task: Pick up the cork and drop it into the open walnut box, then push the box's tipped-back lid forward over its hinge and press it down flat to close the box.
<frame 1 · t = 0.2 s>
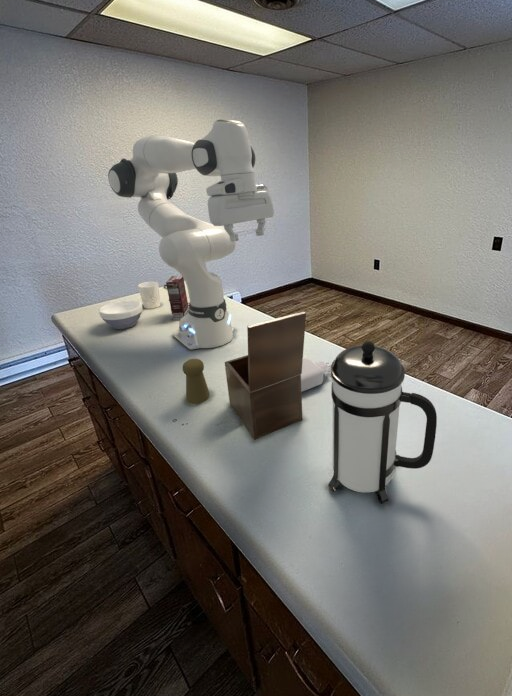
hand: (247, 238, 100), 39 cm above the table, tool pointing down, fingers open, 8 cm apart
charger: (309, 379, 104), on the table
box: (265, 412, 90), on the table
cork: (198, 397, 96), on the table
supplement box: (181, 316, 148), on the table
coffee press: (369, 476, 72), on the table
white cup: (152, 306, 158), on the table
bowl: (125, 325, 140), on the table
lid: (277, 352, 75), point 21 cm above the table, hinge at 100.0°
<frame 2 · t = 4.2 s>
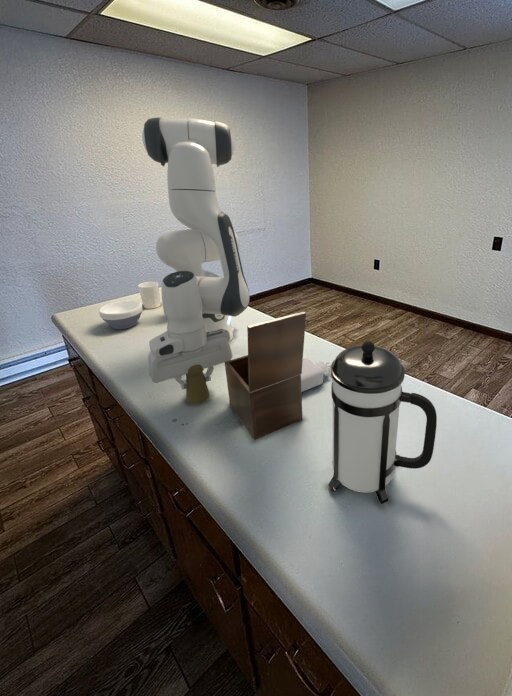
hand: (196, 384, 95), 4 cm above the table, tool pointing down, fingers closed on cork, 4 cm apart
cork: (198, 397, 96), on the table, touching gripper
everything else where it was.
when the fingers open (11 cm above the table, at t = 11.6 s): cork drops 5 cm, resting on box.
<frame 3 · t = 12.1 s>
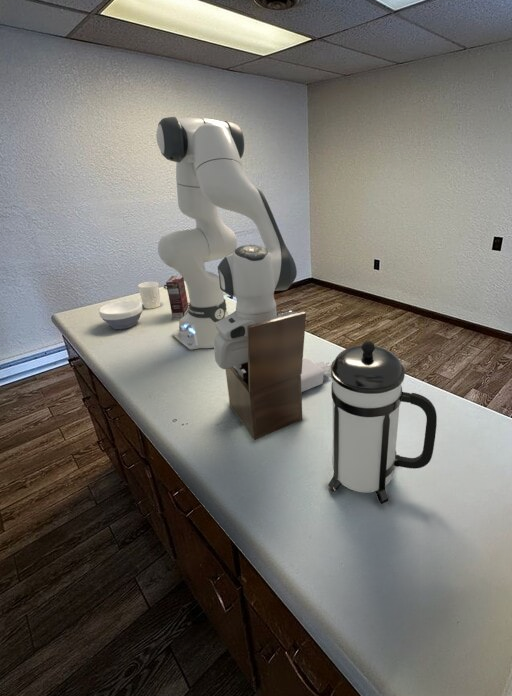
hand: (261, 371, 86), 12 cm above the table, tool pointing down, fingers open, 8 cm apart
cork: (264, 405, 90), point 2 cm above the table, touching box
everything else where it was.
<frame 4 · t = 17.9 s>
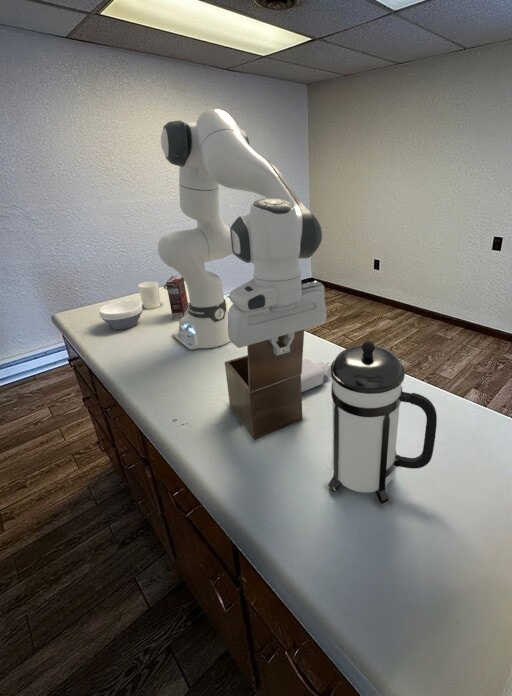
hand: (281, 353, 73), 22 cm above the table, tool pointing down, fingers closed, pressing on lid
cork: (264, 409, 90), point 1 cm above the table, touching box
lid: (276, 351, 75), point 21 cm above the table, hinge at 98.8°, touching gripper
everything else where it was.
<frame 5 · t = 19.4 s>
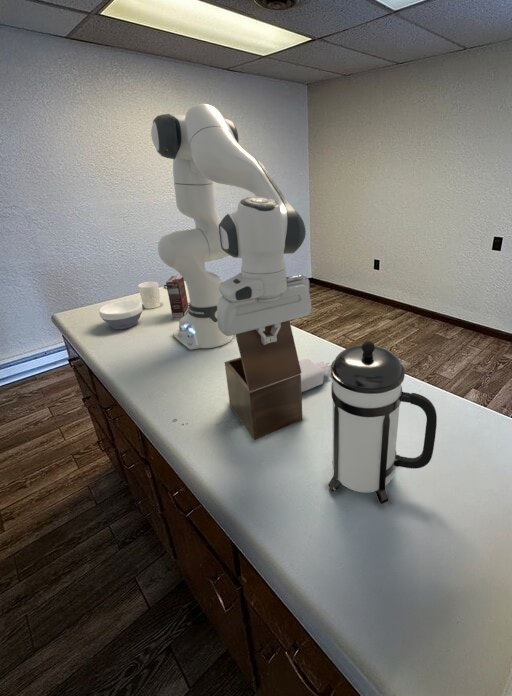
hand: (269, 342, 78), 22 cm above the table, tool pointing down, fingers closed, pressing on lid
lid: (267, 345, 79), point 21 cm above the table, hinge at 67.7°, touching gripper
everything else where it was.
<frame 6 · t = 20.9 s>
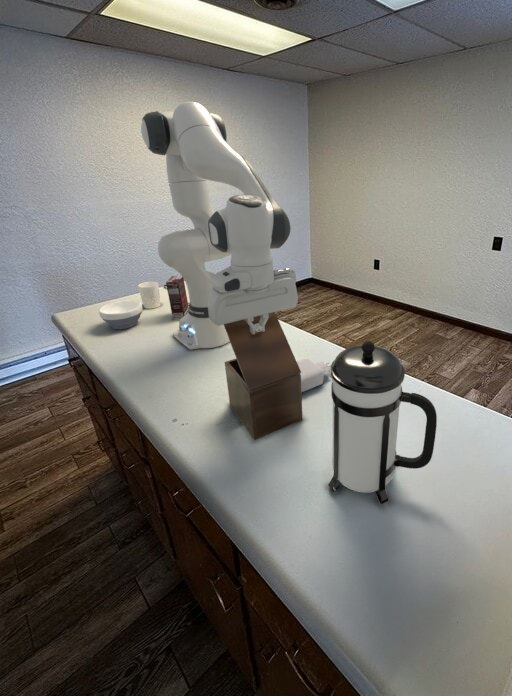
hand: (257, 332, 83), 22 cm above the table, tool pointing down, fingers closed, pressing on lid
lid: (262, 348, 82), point 19 cm above the table, hinge at 41.9°, touching gripper
everything else where it was.
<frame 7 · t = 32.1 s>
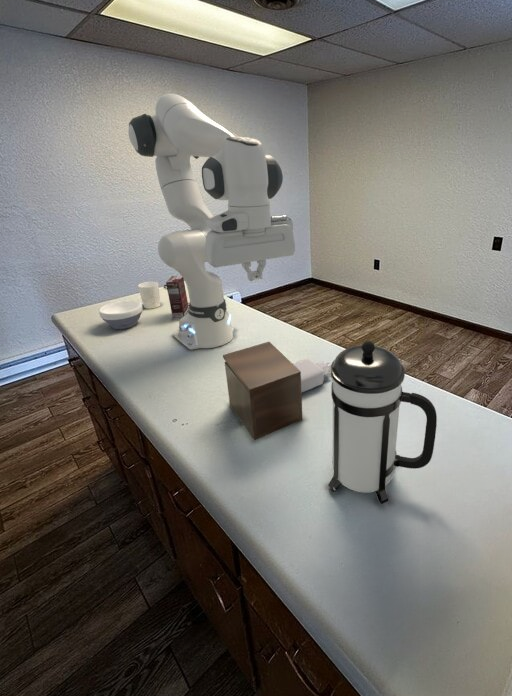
hand: (255, 279, 83), 33 cm above the table, tool pointing down, fingers closed
lid: (260, 364, 86), point 14 cm above the table, hinge at 2.6°
everything else where it was.
at the end: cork inside the target area in the box (0.0 cm from its centre), point 0.6 cm above the box's base; lid at +3° (first picture: +100°) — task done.
